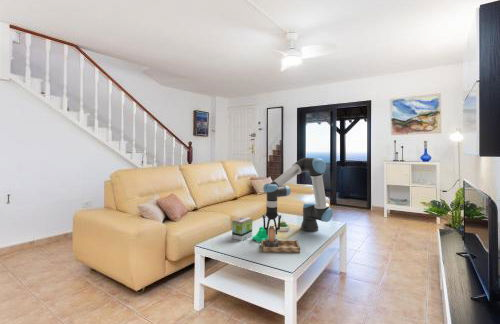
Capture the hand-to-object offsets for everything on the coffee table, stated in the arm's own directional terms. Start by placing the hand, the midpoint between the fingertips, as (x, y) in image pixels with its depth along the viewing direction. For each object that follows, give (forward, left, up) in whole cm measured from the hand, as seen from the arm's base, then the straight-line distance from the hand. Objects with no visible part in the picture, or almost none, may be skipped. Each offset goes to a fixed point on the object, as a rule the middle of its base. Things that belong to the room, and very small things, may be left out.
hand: (271, 238), depth 184 cm
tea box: (+22, -23, -7) cm, 33 cm away
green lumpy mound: (+7, -16, -7) cm, 19 cm away
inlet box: (-6, 0, -7) cm, 9 cm away
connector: (0, 0, -4) cm, 4 cm away
